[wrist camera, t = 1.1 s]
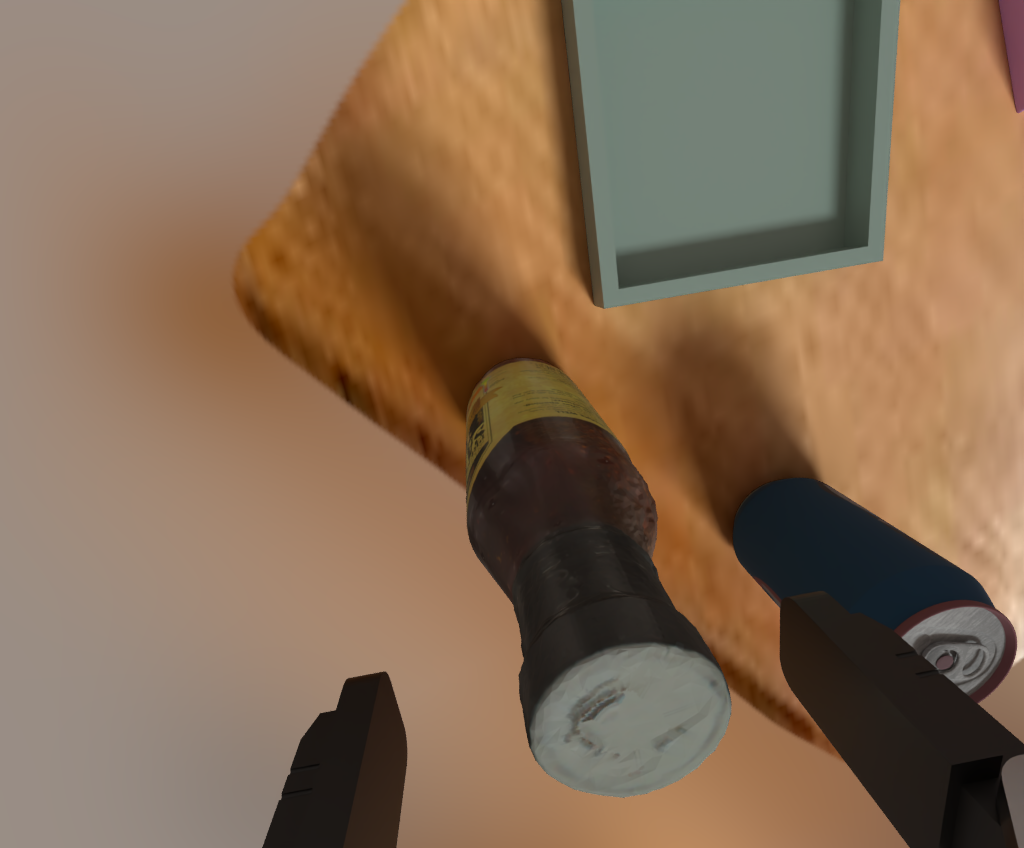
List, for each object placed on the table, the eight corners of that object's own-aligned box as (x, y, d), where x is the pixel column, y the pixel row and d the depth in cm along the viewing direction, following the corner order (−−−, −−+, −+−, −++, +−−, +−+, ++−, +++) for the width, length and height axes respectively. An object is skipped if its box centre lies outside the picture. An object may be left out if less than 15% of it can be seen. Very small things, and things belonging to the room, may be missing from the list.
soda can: (712, 566, 32) (842, 731, 21) (737, 465, 30) (896, 588, 19) (813, 570, 33) (993, 733, 21) (844, 472, 31) (1062, 595, 19)
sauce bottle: (452, 371, 27) (403, 616, 8) (564, 339, 27) (769, 514, 8) (486, 478, 29) (508, 869, 10) (590, 449, 29) (803, 789, 10)
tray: (866, -64, 23) (906, -97, 20) (851, 260, 27) (882, 260, 25) (559, -15, 22) (568, -43, 20) (594, 305, 27) (604, 308, 25)
